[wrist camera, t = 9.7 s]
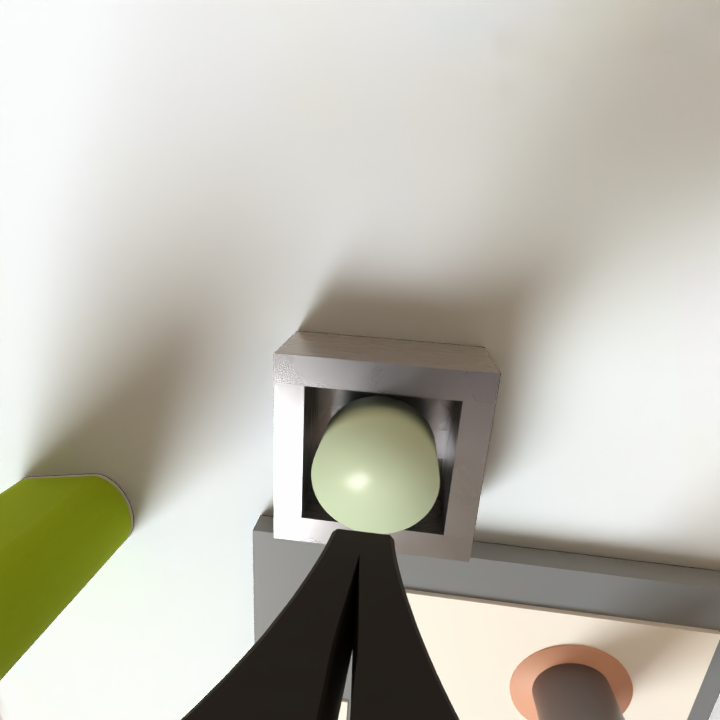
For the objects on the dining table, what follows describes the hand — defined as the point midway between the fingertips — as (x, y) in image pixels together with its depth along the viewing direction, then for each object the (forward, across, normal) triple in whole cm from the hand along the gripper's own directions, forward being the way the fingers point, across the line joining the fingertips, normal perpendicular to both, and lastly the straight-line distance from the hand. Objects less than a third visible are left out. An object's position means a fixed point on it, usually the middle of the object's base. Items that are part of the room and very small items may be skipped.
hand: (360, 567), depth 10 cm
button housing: (+8, 0, 0) cm, 8 cm away
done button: (+6, 0, 0) cm, 6 cm away
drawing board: (+8, -5, +12) cm, 15 cm away
